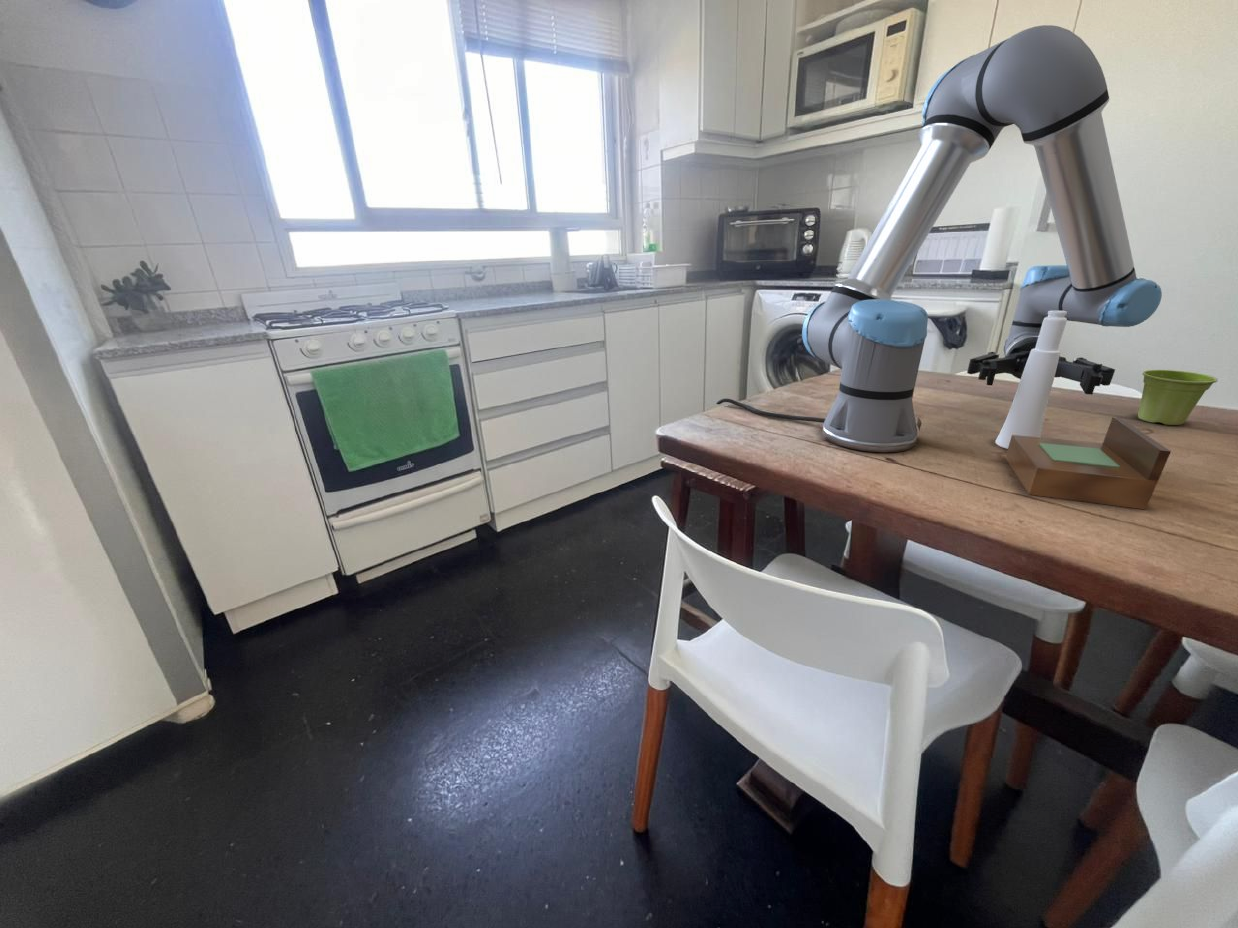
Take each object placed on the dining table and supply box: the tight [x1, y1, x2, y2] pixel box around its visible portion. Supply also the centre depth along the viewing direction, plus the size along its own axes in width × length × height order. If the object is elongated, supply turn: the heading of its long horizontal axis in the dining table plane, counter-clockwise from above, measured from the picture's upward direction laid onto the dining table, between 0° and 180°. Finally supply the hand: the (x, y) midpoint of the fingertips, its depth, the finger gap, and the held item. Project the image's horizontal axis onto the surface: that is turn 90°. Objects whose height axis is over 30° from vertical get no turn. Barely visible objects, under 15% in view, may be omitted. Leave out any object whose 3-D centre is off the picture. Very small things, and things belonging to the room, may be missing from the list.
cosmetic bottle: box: [994, 310, 1068, 450], centre depth 79 cm, size 6×6×22 cm
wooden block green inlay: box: [1004, 416, 1172, 510], centre depth 69 cm, size 12×14×8 cm
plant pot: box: [1137, 369, 1219, 426], centre depth 91 cm, size 9×9×9 cm
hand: (1039, 381), depth 76 cm, fingers open, 11 cm apart
